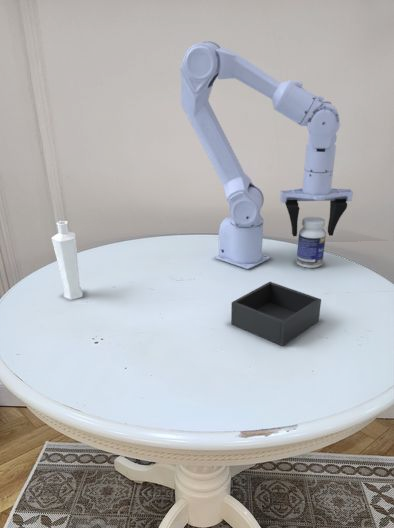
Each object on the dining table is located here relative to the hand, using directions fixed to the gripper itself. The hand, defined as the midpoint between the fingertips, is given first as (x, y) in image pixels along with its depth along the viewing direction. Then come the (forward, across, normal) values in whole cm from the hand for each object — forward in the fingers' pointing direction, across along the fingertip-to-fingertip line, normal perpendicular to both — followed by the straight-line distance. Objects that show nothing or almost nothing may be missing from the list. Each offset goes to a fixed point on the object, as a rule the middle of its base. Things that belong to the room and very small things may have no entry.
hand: (312, 234), depth 114 cm
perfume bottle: (+7, -50, -13) cm, 52 cm away
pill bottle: (+7, 0, 0) cm, 7 cm away
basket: (+7, -11, -26) cm, 29 cm away
